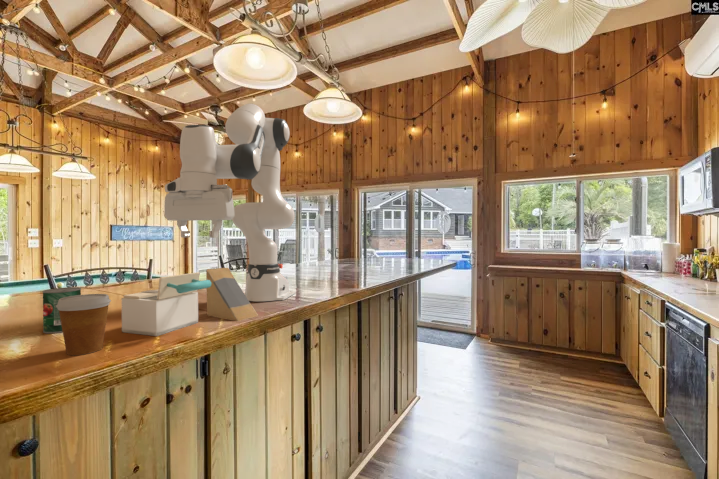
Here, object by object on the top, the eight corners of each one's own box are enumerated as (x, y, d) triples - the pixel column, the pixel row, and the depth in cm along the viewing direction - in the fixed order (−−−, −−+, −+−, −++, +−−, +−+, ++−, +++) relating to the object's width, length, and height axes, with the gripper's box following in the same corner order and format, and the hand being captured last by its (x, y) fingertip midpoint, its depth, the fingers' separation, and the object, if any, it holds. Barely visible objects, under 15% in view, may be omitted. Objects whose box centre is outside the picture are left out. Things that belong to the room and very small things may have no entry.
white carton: (166, 319, 103) (166, 290, 103) (198, 322, 99) (198, 292, 99) (121, 332, 90) (121, 298, 90) (156, 336, 86) (156, 301, 86)
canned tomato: (36, 331, 90) (35, 290, 90) (70, 324, 97) (70, 286, 97) (53, 335, 87) (53, 292, 87) (87, 327, 94) (87, 288, 94)
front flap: (157, 298, 86) (176, 304, 85) (159, 277, 86) (179, 282, 84) (195, 290, 99) (213, 295, 97) (198, 272, 98) (216, 276, 97)
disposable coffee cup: (48, 361, 69) (47, 302, 69) (66, 346, 78) (66, 295, 78) (104, 354, 73) (104, 299, 73) (116, 341, 82) (115, 292, 82)
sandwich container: (237, 322, 101) (237, 272, 101) (205, 315, 109) (205, 269, 108) (259, 316, 108) (259, 269, 108) (228, 310, 116) (228, 267, 116)
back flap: (164, 290, 102) (164, 287, 102) (179, 291, 101) (179, 288, 101) (123, 297, 90) (123, 294, 90) (139, 298, 88) (139, 295, 88)
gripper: (239, 185, 90) (239, 237, 90) (178, 188, 96) (179, 237, 96) (223, 182, 84) (223, 238, 84) (159, 185, 90) (160, 237, 90)
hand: (199, 237), depth 90 cm, fingers open, 8 cm apart
